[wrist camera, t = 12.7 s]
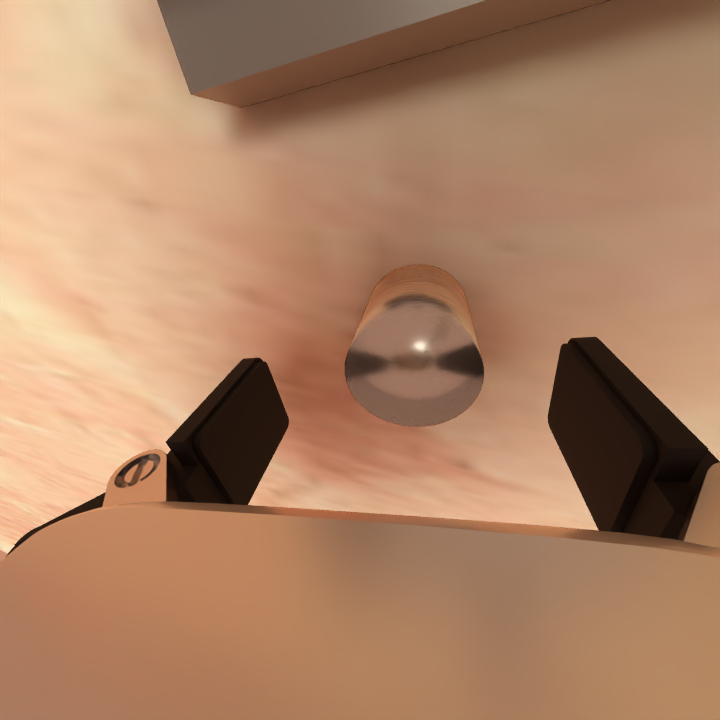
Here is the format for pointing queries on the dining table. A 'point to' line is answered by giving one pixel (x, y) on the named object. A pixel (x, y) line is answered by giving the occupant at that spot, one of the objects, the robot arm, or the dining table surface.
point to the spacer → (415, 349)
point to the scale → (324, 38)
